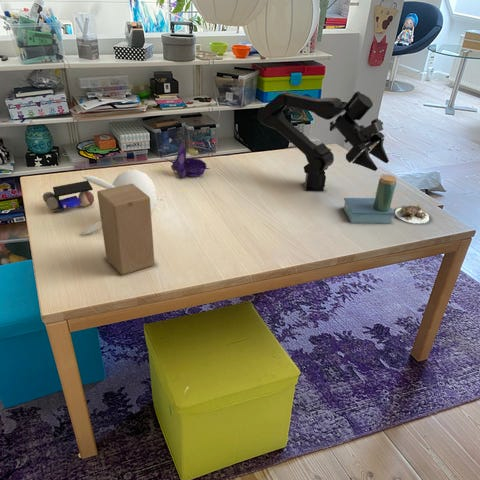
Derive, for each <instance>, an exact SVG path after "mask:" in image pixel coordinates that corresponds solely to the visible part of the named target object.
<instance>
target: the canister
mask: <svg viewBox="0 0 480 480" xmlns="http://www.w3.org/2000/svg"><path fill="white" fill-rule="evenodd" d="M396 186H397V177H396V176H395V175H392V174H381V175H380V177H379V179H378V183H377V187H376V192H375V196H374V198H375V200H374V204H373V208H374V209H375V210H377V211H380V212H387V211H389V210H390V207H391V206H392V202H393V198H394V194H395V190H396Z"/></svg>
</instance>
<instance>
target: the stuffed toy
mask: <svg viewBox="0 0 480 480" xmlns="http://www.w3.org/2000/svg"><path fill="white" fill-rule="evenodd" d="M81 177H82V178H83V179H85V181H88V182H89V183H90V184H93V185H96V186H98V187H101V188H104V189H109V188H114V187H118V186H123V185H128V184H134V185H135V186H136V187H138V188H139V189H140V190H141V191H143V192H144V193H145V194H146V195H148V196H149V197H150V205H151V217H152V215H153V214H154V212H155V210H156V206H157V201H163V197H160V198H157V197H158V194H157V190H156V187H155V184H154V182H153V180H152V179H151V177H149V176H148V175H147V173H145V172H143V171H142V170H138V169H127V170H124V171H123V172H121V173H119V174H118V175H117V176H116V178H114V180H113V181H112V183H110V182H108V181H106V180H104V179H102V178H100V177H98V176H94V175H86V174H85V175H81ZM100 229H102V223H101V219H100V220H99V221H98V222H95V223H94V224H92V225H91V226H90V227H88V228H87V229H86V230H85V231H84V233H82V236H84V235H90V234H93V233H94V232H97V231H98V230H100Z"/></svg>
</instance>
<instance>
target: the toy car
mask: <svg viewBox="0 0 480 480" xmlns="http://www.w3.org/2000/svg"><path fill="white" fill-rule="evenodd" d="M52 191H53V192H51V191H46V192H44V193H43V195H42V199H43V202H45V205H46V207H47V208H48V209H50V210H55V211H54V213H61V212H63V211H64V210H66V209H70V208H75V207H77V206H84V207H90V206H92V205H93V204H94V202H95V196H94V194H93V193H92V192H91V191H93V187H92V184H91V182H89V181H87V180H84V181H79V182H73V183H72V182H71V183H67V184H62V185H56V186H52ZM74 194H78V196H77V195H74ZM69 195H71V196H69ZM64 196H68V197H65V198H60V197H64ZM57 209H58V210H57Z"/></svg>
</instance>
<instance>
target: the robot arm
mask: <svg viewBox="0 0 480 480" xmlns="http://www.w3.org/2000/svg"><path fill="white" fill-rule="evenodd" d="M286 107H288V108H293V109H297V110H303V111H307V112H311V113H313V114H315V115H316V116H317V117H319V118H321V119H323V120H327V121H328V120H332V119H334V118H336V119H335V120H332V121H329V131H330V132H332V131H334V130H337V131H338V132H339V133H340V134H341V136H343V137H344V143H345V144H347V143H349V144H350V146H351V148H350V149H349V151H347V152H346V154H345V160H346V161H347V162H348V163H349V164H350V163H352V164H353V165H354V164H356V165H358V166H361V167H364V168H366V169H369V170H371V171H373V172H376V171H377V170H378V166H377V165H376V163H375V162H374V161H373V159H372V157H371V156H374V157H375V158H377V159H378V160H380V161H381V162H383V163H384V164H388V163H389V162H390V159H389V158H388V157H389V156H388V155H387V153H386V151H385V148H384V141H385V135H384V134H383V132H382V131H383V130H384V127H383V125H384V122H383V121H382V120H381V119H379V118H378V117H376V118H374V119H372V120H371V121H370V124H369V125H368V126H366V127H365V126H364V125H363V124H360V125H359V123H358V122H357V121H361V120H362V119H363V118H364V117H365V115H366V114H367V113H368V112H369V111H370V110H371V109H372V107H374V103H373V101H372V99H371V98H370V97H369V96H367V95H365V94H364V93H361V92H360V91H359V90H358V91H355V93H353V95H352V96H351V98H350V99H349V101H342V100H341V99H340V98H338V97H323V98H321V97H320V98H316V97H311V96H307V95H302V94H298V93H293V92H289V91H282V92H280V93H278V94H277V95H276V96H275V97H274V98H273V99H272V100H270V101H269V102H268V103H267V104H265V105H263V106H260V107H259V108H258V109H257V113H256V114H257V115H256V116H257V120H258V121H259V122H260V123H261V124H262V125H264V126H266V127H268V128H271V129H274V130H276V131H277V132H278V133H280V134H281V135H282V136H283V137H284V138H285V139H287V141H288V142H290V143H291V144H292V145H293V146H294V147H296V148H297V149H298V151H300V152H301V153H303V155H305V158H306V161H307V164H306V165H304V166H303V172H304V174H305V179H304V182H303V187H304V188H305V190H306V191H309V192H310V191H313V192H324V191H325V186H326V179H327V176H326V170H328V168H329V167H330V166H332V165H333V164H334V161H335V157H334V156H335V155H334V153H333V152H332V149H331V148H329V147H328V146H326V144H325V143H324V142H321V143H319V144H316V143H314V142H313V141H312V140H311V139H309V138H308V137H307V136H306V135H305V134H303V132H302V131H301V130H299V129H298V128H297V127H296V126H295V125H294V124H292V123H291V122H290V121H288V119H287V118H286V116H285V114H284V110H285V109H286ZM343 112H344V113H343ZM342 113H343V114H342ZM369 154H370V155H371V156H370V155H369Z"/></svg>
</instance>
